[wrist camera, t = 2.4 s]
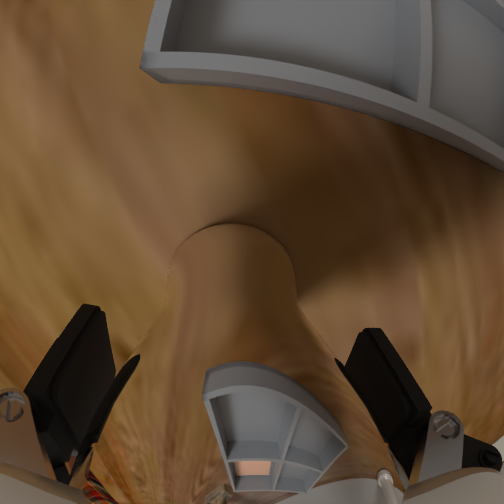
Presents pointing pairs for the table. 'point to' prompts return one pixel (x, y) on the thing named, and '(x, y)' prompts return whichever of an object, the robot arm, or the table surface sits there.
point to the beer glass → (235, 396)
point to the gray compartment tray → (349, 58)
